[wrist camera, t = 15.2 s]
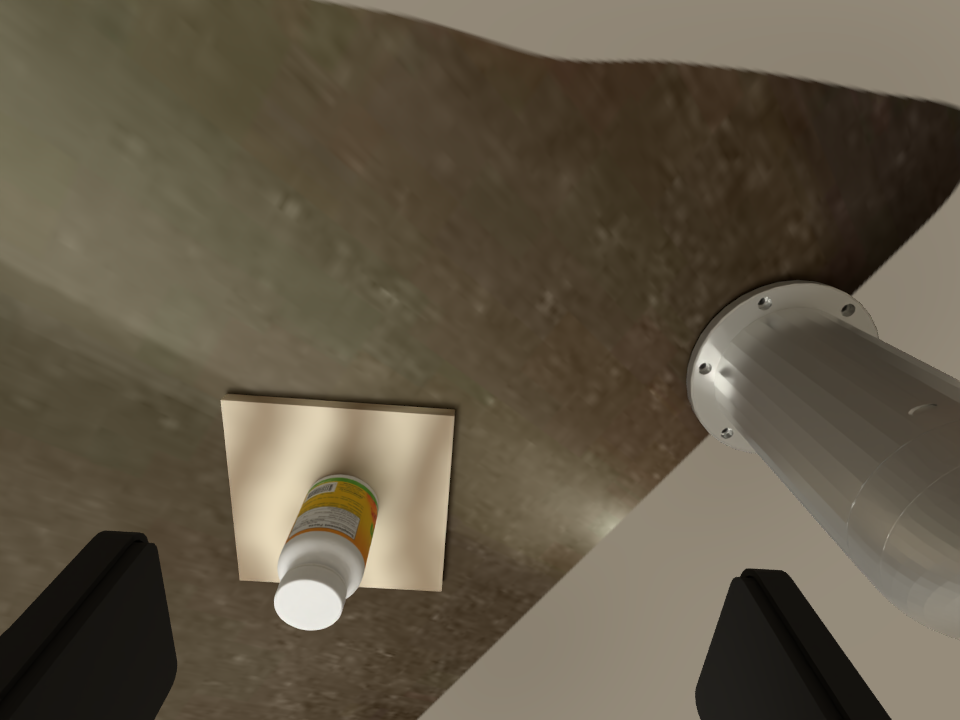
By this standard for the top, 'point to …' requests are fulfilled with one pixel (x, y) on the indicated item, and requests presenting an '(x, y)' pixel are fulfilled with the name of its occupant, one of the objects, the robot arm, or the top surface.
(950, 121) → the top surface
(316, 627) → the supplement bottle
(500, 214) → the top surface
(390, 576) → the birch board
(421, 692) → the top surface
